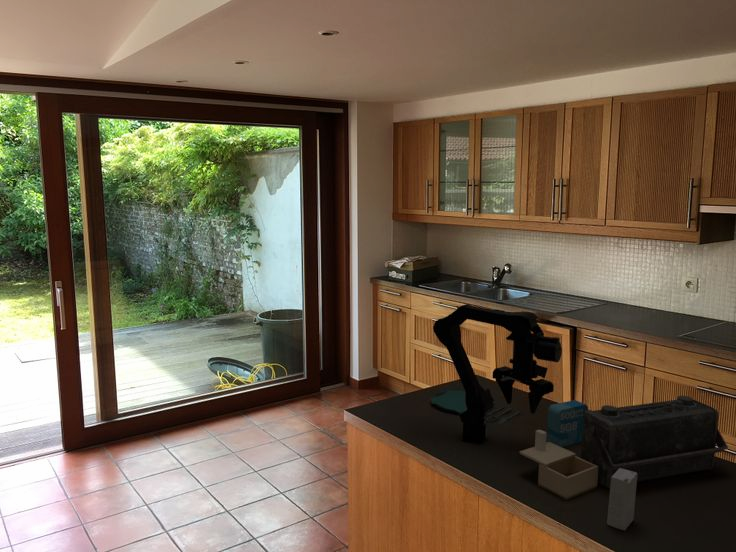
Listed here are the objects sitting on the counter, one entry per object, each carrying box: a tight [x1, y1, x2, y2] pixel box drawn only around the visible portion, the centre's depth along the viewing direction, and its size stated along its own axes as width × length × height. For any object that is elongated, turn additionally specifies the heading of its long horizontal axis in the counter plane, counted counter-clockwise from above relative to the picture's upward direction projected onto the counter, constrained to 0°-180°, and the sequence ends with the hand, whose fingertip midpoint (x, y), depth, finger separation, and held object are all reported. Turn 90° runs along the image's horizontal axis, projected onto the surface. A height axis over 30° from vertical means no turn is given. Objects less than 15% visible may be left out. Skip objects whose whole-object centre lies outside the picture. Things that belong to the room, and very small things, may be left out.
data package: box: [546, 399, 589, 448], centre depth 186 cm, size 12×4×12 cm, turn 116°
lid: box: [519, 429, 577, 466], centre depth 164 cm, size 9×12×6 cm
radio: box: [580, 395, 729, 489], centre depth 165 cm, size 38×14×20 cm, turn 108°
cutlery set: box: [430, 390, 522, 426], centre depth 214 cm, size 20×30×2 cm, turn 45°
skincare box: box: [606, 468, 638, 531], centre depth 141 cm, size 6×4×12 cm
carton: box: [537, 455, 598, 501], centre depth 159 cm, size 9×12×6 cm
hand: (520, 408), depth 178 cm, fingers open, 9 cm apart
